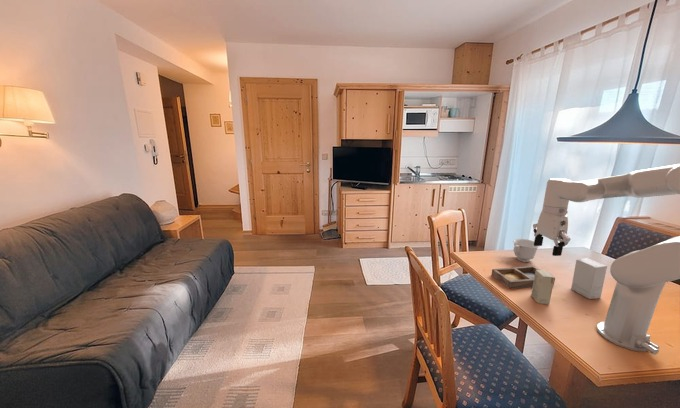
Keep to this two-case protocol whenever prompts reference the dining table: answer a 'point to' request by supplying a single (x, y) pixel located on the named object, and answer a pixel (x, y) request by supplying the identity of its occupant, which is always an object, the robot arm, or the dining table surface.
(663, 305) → the dining table surface
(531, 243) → the teacup
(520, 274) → the divided wooden tray
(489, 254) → the dining table surface
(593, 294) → the skincare box
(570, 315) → the dining table surface
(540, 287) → the skincare box
